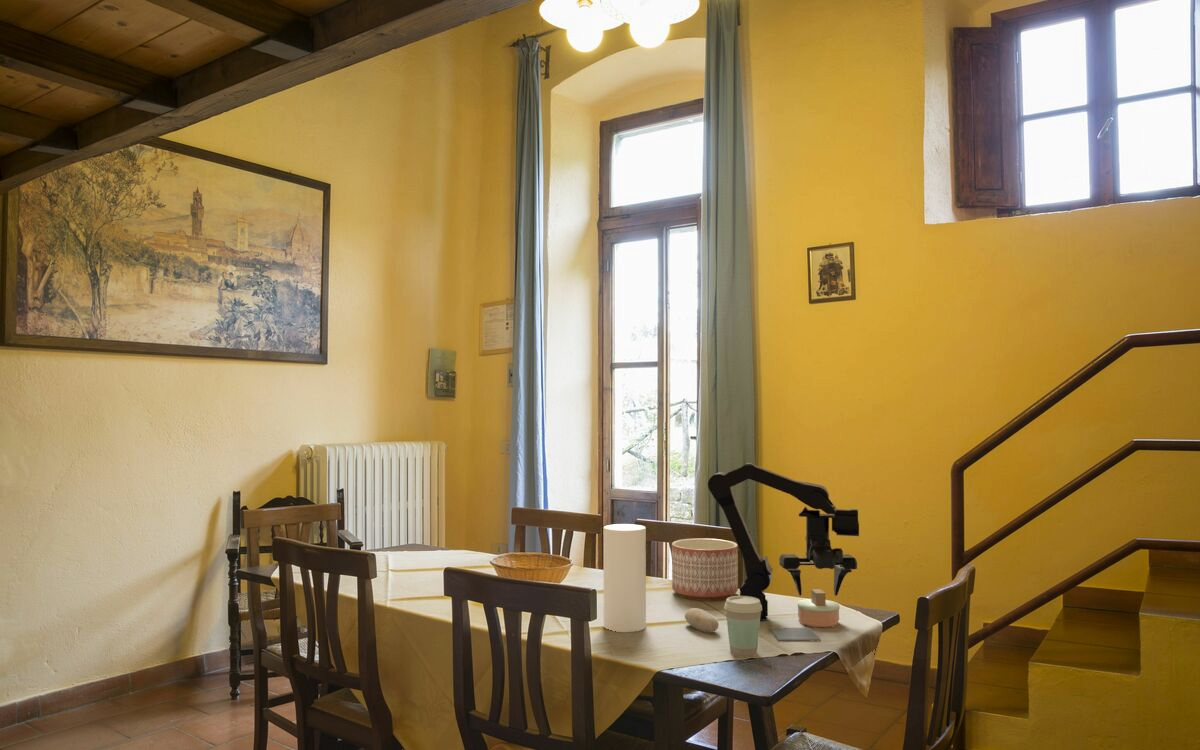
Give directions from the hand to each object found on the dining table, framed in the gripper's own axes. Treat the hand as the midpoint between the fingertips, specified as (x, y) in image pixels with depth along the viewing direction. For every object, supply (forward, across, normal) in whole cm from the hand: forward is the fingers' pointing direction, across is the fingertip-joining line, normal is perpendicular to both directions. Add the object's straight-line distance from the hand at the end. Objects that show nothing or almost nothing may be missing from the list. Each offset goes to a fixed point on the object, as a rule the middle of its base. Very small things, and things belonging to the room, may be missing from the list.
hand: (817, 595), depth 209 cm
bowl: (+7, 0, 0) cm, 7 cm away
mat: (+7, -9, -11) cm, 16 cm away
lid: (+3, 0, 0) cm, 3 cm away
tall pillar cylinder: (+7, -50, -3) cm, 51 cm away
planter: (+7, -25, +31) cm, 40 cm away
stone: (+7, -31, -6) cm, 32 cm away
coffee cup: (+7, -24, -25) cm, 35 cm away
